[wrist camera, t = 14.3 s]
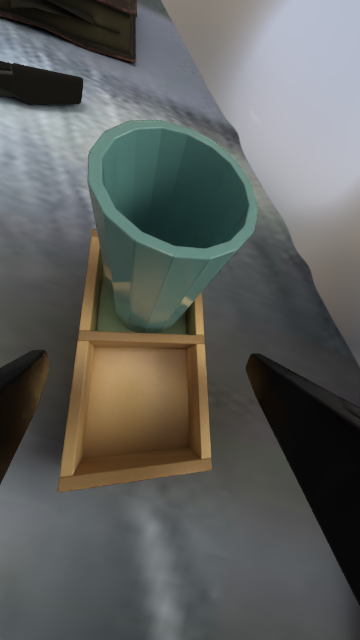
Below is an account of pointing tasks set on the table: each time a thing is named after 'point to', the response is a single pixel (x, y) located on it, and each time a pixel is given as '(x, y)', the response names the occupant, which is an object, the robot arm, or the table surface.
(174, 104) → the table surface
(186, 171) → the tumbler
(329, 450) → the robot arm
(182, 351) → the divided wooden tray
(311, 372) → the table surface
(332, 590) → the table surface
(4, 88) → the electric trimmer
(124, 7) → the diary
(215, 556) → the table surface
